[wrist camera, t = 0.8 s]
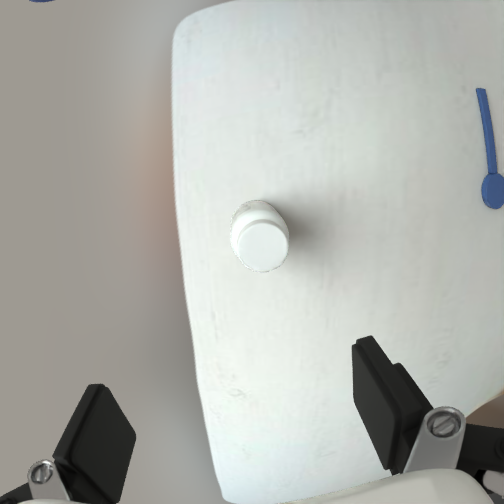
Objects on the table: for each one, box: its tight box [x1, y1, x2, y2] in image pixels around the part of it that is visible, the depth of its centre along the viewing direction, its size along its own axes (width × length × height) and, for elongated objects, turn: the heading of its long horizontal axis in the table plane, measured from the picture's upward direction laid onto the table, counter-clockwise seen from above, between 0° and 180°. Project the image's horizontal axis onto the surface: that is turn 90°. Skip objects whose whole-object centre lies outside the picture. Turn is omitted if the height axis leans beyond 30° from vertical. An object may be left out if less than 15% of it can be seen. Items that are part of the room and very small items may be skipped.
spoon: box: [476, 88, 504, 209], centre depth 27 cm, size 14×4×1 cm, turn 12°
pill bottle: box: [230, 200, 289, 272], centre depth 25 cm, size 4×4×8 cm
